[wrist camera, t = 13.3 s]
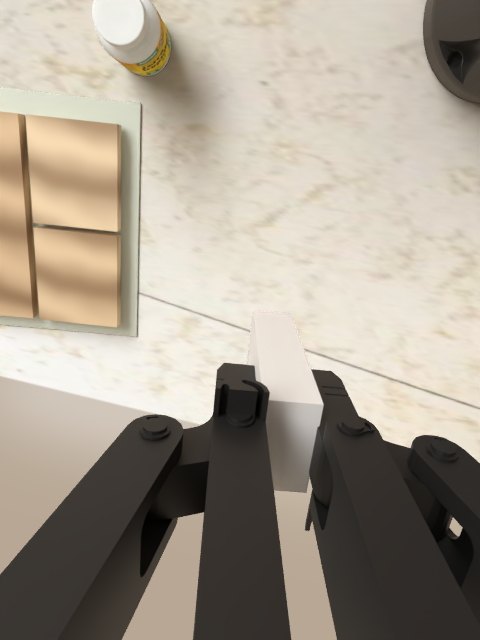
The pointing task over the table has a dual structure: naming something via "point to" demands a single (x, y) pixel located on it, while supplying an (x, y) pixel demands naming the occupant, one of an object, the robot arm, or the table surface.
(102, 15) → the supplement bottle
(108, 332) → the underlay sheet
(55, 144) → the plank
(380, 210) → the table surface
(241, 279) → the table surface
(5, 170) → the laid floorboard
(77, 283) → the plank
